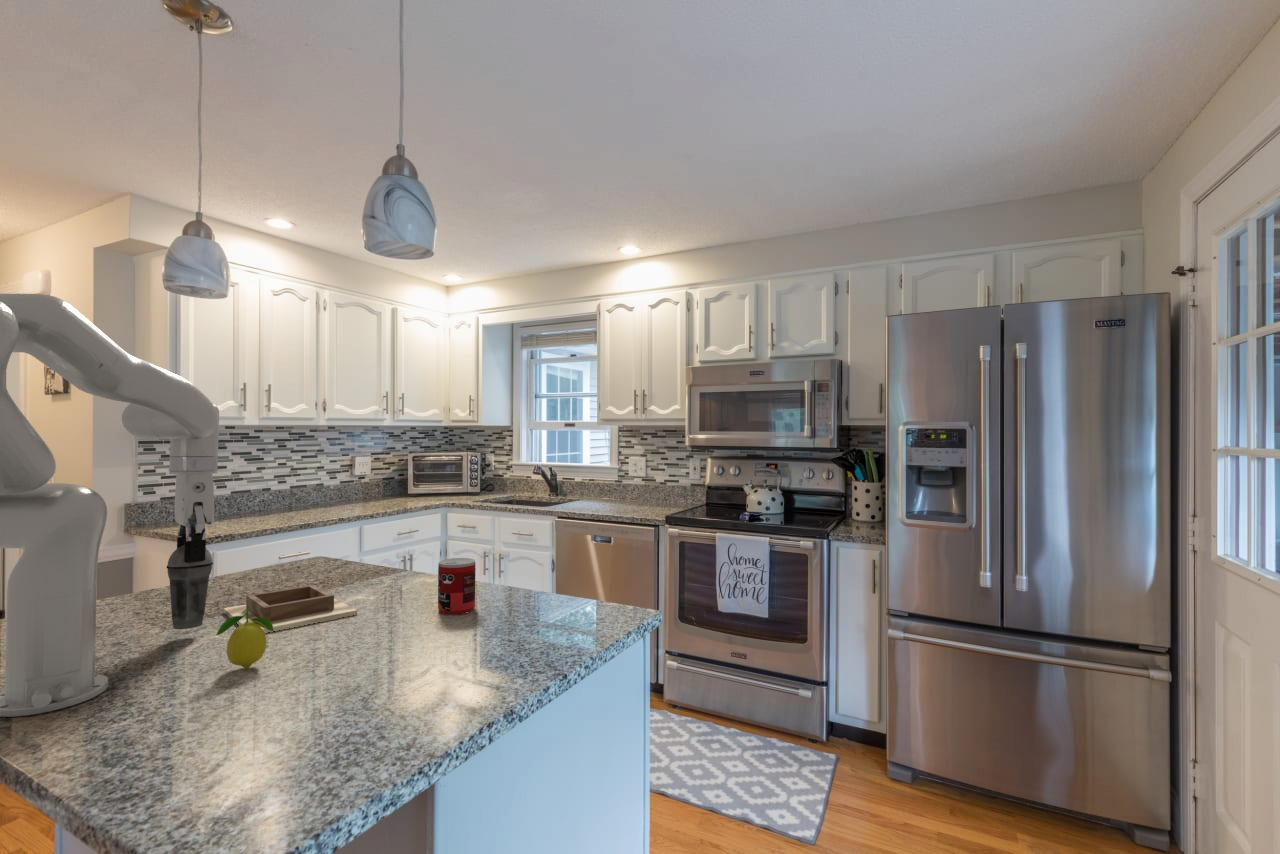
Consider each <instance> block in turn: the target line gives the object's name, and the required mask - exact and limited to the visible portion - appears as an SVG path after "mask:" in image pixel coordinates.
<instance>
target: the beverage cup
mask: <svg viewBox="0 0 1280 854" xmlns="http://www.w3.org/2000/svg"><path fill="white" fill-rule="evenodd" d="M185 529H186V526H185ZM186 541H187V535H186ZM213 565H214V562H213V557H212V554H211V552H210V550H209V549H207V548H206V552H205V560H204V561H199V562H190V563H185V562H184V545H183V546H181V547H179V548H178V549H177V548H176V549H175V550H174V551H173V552H172V553H171V554H170V556H169V558H168V561H167V565H166V569H167V576H168V579H169V589H170V591H169V592H170V604H171V605H170V606H171V607H170V608H171V621H172V629H174V630H188V629H189V630H190V629H193V628H194V629H195V628H198V627H200V626H202V625H203V621H204V617H205V611H206V603H207V597H208V596H207V595H208V588H209V581H210V575H211V573H212V569H213Z"/></svg>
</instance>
